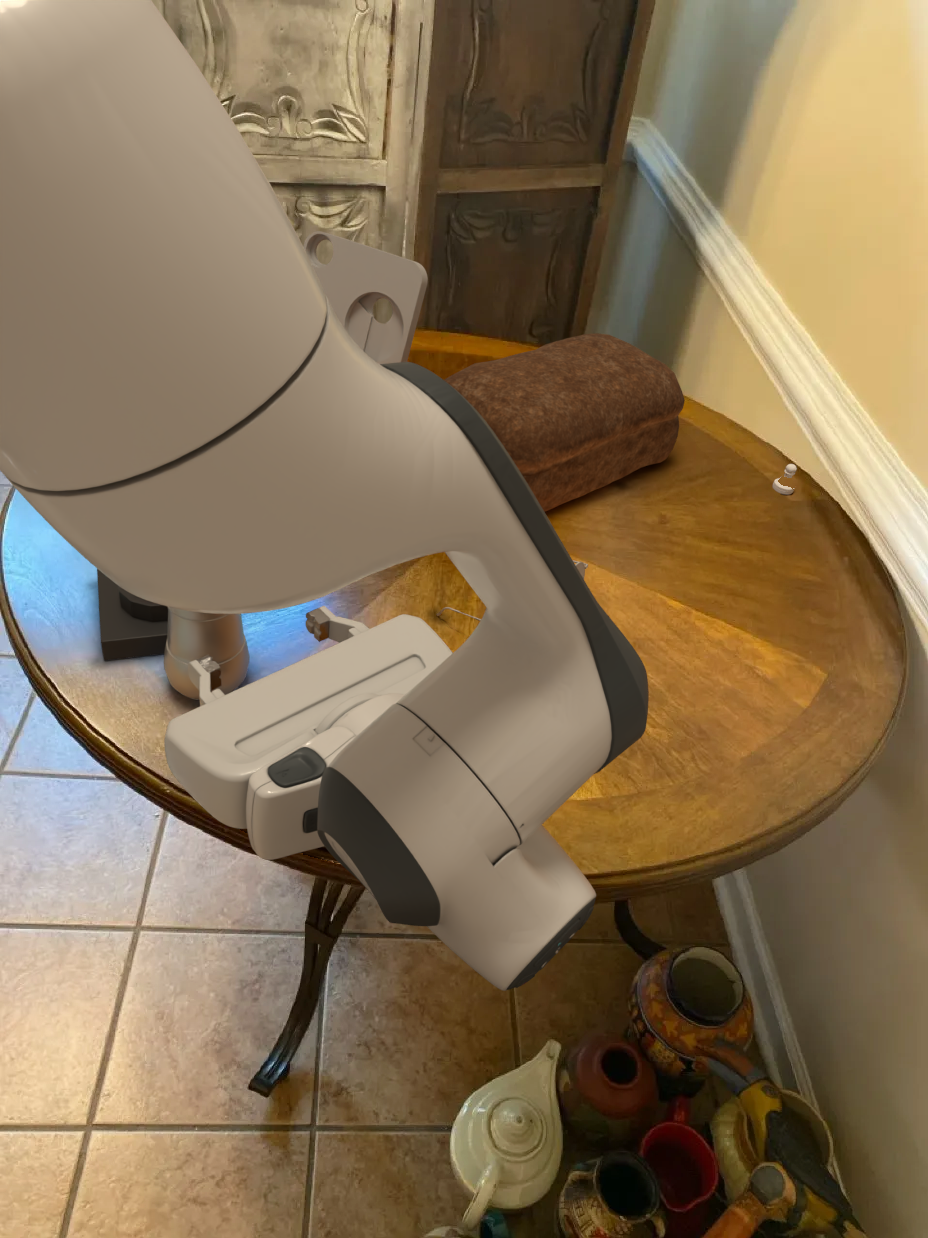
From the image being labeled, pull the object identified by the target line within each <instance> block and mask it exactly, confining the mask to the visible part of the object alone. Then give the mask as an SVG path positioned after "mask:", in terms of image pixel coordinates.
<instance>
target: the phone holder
mask: <svg viewBox="0 0 928 1238" xmlns="http://www.w3.org/2000/svg"><path fill="white" fill-rule="evenodd" d="M326 240H327V241H329V242H330V243H331V245H332V255H331V259H330V261H329V262H328V263H327V264H326V263H322V262H321V261H320V259H318V256H317V248H318V246H319V244H320V243H321V242H323V241H326ZM303 247H304V249H305V251H306V254H307V256H308V258H309V260H310V262H311V264H312V266H313V268H314V270H315V272H316V274H317V277H318V279H319V281H320V283H321V285H322V287H323V289H324V292H325V295H326V296H327V298H328V300H329V302H330V304H331V306H332V308H333V310H334V312H335V314H336V316H337V318H338V319H339V321H340V323H341V324H342V326H343V327H344V329H345V330H346V332H347V333H348V334H349V336H350V337H351V338H352V339H353V340H354V342H355V343H356V344H357V345H358V346H359V347H360V348H361V349H362V350H363V351H364V352H365V353H366V354H367V355H368V356H369V357H370V358H372V359H373V360H374V361H375V362H377V363H378V364H388V363H399V362H408V359H409V357H410V356H409V355H410V353H411V349H412V344H413V340H414V336H415V333H416V332H415V331H416V329H417V325H418V322H419V317H420V314H421V309H422V306H423V302H424V298H425V294H426V291H427V288H428V283H429V281H428V280H429V279H428V274H427V270H426V268H425V267H424V266H423V265H422V264H421V263H419V262H418V261H414V260H412V259H408V258H406V257H403V256H399V255H397V254H394V253H391V252H387V251H385V250H382V249H379V248H375V247H372V246H369V245H366V244H364V243H360V242H357V241H354V240H351V239H348V238H345V237H341V236H338V235H336V234H333V233H329V232H325V231H321V230H317V231H312V232H311V233H309V235H307V237H306V239H304V243H303ZM382 299H385V300H387V301H388V302H389V303H390V306H391V308H392V314H391V317H390V318H389V320H388V321H386V322H385V323H382V322H379V321H378V320H377V319H376V318H375V316H374V306H375V304H376V303H377V302H378V301H379V300H382Z"/></svg>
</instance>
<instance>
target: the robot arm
mask: <svg viewBox="0 0 928 1238" xmlns="http://www.w3.org/2000/svg"><path fill="white" fill-rule="evenodd" d="M303 246H304V244H303V243H302V241H301V239H300V237H299V235H298V233H297V232H296V230H295V228H294V226H293V223H292V222H291V220H290V218H289V216H288V215H287V213H286V210H285V208H284V207H283V205H282V203H281V202H280V200H279V198H278V196H277V193H276V192H275V190H274V189H273V187H272V184H271V183H270V181H269V179H268V178H267V176H266V174H265V173H264V171H263V169H262V168H261V166H260V164H259V163H258V160H257V159H256V158H255V156H254V154H253V153H252V151H251V149H250V147H249V146H248V144H247V142H246V141H245V139H244V137H243V135H242V134H241V131H240V130H239V129H238V127H237V125H236V124H235V122H234V121H233V119H232V117H231V115H230V114H229V113H228V111H227V110H226V108H225V107H224V105H223V103H222V102H221V101H220V99H219V98H218V96H217V94H216V92H215V91H214V90H213V88H212V86H211V85H210V83H209V82H208V80H207V79H206V77H205V75H204V74H203V73H202V71H201V69H200V67H198V65H197V63H196V62H195V60H194V59H193V58H192V56H191V55H190V53H189V52H188V50H187V49H186V48H185V45H183V43H182V42H181V40H180V39H179V38H178V36H177V34H176V33H175V32H174V30H173V29H172V28H171V26H170V25H169V23H168V22H167V20H166V19H165V18H164V16H163V14H162V13H161V12H160V10H159V9H158V7H157V6H156V5H155V3H154V2H153V0H0V472H1V474H2V475H4V477H5V478H6V479H7V480H8V482H9V483H11V485H12V486H13V487H14V488H15V490H16V491H17V492H18V493H19V494H20V495H21V496H22V497H23V498H24V499H25V501H26V502H27V503H29V505H30V506H31V507H32V508H33V509H34V510H35V511H36V512H37V513H38V514H39V515H40V517H42V518H43V519H44V520H45V521H46V523H47V524H48V525H49V526H50V527H52V529H54V531H55V532H56V533H58V534H59V535H60V537H61V538H63V540H64V541H66V542H67V543H68V544H69V545H70V546H71V547H72V548H73V549H74V550H76V551H77V552H78V553H79V554H80V555H81V556H82V557H83V558H84V559H85V560H87V561H88V562H89V563H90V564H91V565H92V566H93V567H95V568H96V570H97V569H98V570H100V571H101V572H102V573H103V574H104V575H106V576H107V577H108V578H109V579H111V580H112V581H113V582H114V583H116V584H117V585H118V586H120V587H121V588H123V589H124V590H126V591H128V592H129V593H131V594H133V595H135V596H137V597H140V598H142V599H145V600H148V601H151V602H153V603H157V604H161V605H164V606H168V607H171V608H175V609H180V610H186V611H193V612H202V613H213V614H241V615H244V614H254V613H262V612H271V611H277V610H282V609H287V608H291V607H296V606H300V605H303V604H307V603H310V602H313V601H316V600H318V599H321V598H323V597H326V596H328V595H330V594H332V593H335V592H337V591H339V590H341V589H343V588H345V587H347V586H350V585H352V584H354V583H356V582H358V581H360V580H362V579H365V578H367V577H369V576H372V575H374V574H376V573H379V572H381V571H384V570H386V569H389V568H392V567H394V566H397V565H400V564H404V563H406V562H409V561H412V560H415V559H419V558H423V557H426V556H430V555H435V554H439V553H444V554H445V555H446V556H447V558H448V559H449V560H450V561H451V563H452V564H453V565H454V566H455V568H456V569H457V570H458V572H459V573H460V575H461V576H462V577H463V578H464V580H465V581H466V583H467V584H468V585H469V587H471V589H472V590H473V591H474V593H475V594H476V596H477V597H478V598H479V600H480V601H481V602H482V604H483V605H484V606H485V607H486V608H485V610H484V613H483V615H482V618H480V619H481V621H479V622H478V624H477V626H476V627H475V628H474V629H473V631H472V633H471V634H470V635H469V636H468V638H466V639H465V641H464V642H463V643H462V644H461V645H460V646H459V647H458V648H457V649H456V650H454V651H452V650H451V649H450V647H449V646H448V645H447V644H446V643H445V642H444V640H443V639H442V638H441V637H440V635H439V634H437V632H436V631H435V630H434V629H433V628H432V627H431V626H430V625H429V624H428V623H427V622H426V621H425V620H424V619H422V617H419V616H415V615H411V614H407V613H402V614H399V615H397V616H395V617H392V618H391V619H388V620H386V621H384V622H382V623H380V624H378V625H375V626H373V627H371V628H369V627H368V626H367V625H366V623H364V622H361V621H358V620H355V619H354V620H353V619H350V618H346V617H343V616H339V615H338V616H337V615H335V614H334V613H333V612H332V611H331V610H330V609H329V608H328V607H326V606H325V605H322V606H320V607H317V608H314V609H313V610H310V611H308V612H306V614H305V619H306V620H305V628H306V630H307V632H308V633H309V634H311V635H313V638H314V639H315V640H316V641H318V642H319V643H320V642H322V641H325V640H327V639H329V640H332V641H334V642H337V643H336V644H334V645H332V646H329V647H327V648H325V649H322V650H321V651H318V652H316V653H314V654H312V655H310V656H307V657H305V658H303V659H301V660H299V661H297V662H294V663H292V664H290V665H288V666H286V667H283V668H281V669H279V670H276V671H274V672H272V673H271V674H268V675H266V676H264V677H261V678H259V679H257V680H255V681H253V682H251V683H248V684H246V685H244V686H242V687H240V688H239V687H238V688H236V689H235V690H234V691H233V692H231V693H228V694H226V695H225V694H224V693H223V692H222V691H221V690H220V689H216V688H218V687H220V686H221V678H220V675H221V667H220V666H219V665H218V664H217V663H216V662H215V661H212V657H211V656H210V655H207V656H204V657H201V658H199V659H196V660H194V661H192V662H189V663H188V672H189V677H190V680H191V682H192V683H193V684H194V685H195V686H196V688H197V689H198V690H199V697H200V700H199V706H198V707H196V708H194V709H191V710H189V711H187V712H185V713H182V714H179V715H178V716H176V717H174V718H172V719H170V720H169V721H168V723H167V726H166V729H165V734H164V739H163V742H164V754H165V759H166V763H167V767H168V769H169V771H170V773H171V774H172V775H173V776H174V778H175V779H176V780H177V782H178V783H179V784H180V786H182V788H183V789H185V791H186V792H187V793H188V794H189V795H190V796H191V797H192V798H193V799H194V800H195V802H197V804H198V805H200V806H201V807H202V808H203V810H205V811H206V812H207V813H208V814H209V815H211V816H212V818H214V819H215V820H217V821H218V822H220V823H222V824H223V825H225V826H227V827H230V828H233V829H241V830H242V829H243V830H246V829H247V835H248V839H249V844H250V847H251V849H252V850H253V851H254V852H255V854H256V855H257V856H258V857H259V858H260V859H262V860H265V861H273V860H277V859H281V858H285V857H289V856H293V855H295V854H300V853H303V852H307V851H312V850H316V849H318V848H319V849H320V848H325V849H326V850H327V851H328V852H329V855H331V856H332V857H333V859H334V860H336V861H337V862H338V863H339V864H340V865H341V866H342V867H343V868H344V869H345V870H346V871H348V872H349V873H350V874H351V875H352V876H353V877H354V878H355V879H356V880H358V882H360V884H361V885H362V886H363V887H364V888H365V889H366V890H367V891H368V893H369V894H370V895H371V896H372V898H373V899H375V901H376V903H377V904H378V907H379V908H380V911H381V913H382V915H383V916H384V918H385V919H386V920H387V922H389V923H390V924H397V925H405V926H415V927H427V928H428V929H429V931H431V932H432V934H434V935H435V937H437V938H438V940H440V941H441V942H442V943H443V944H444V945H445V946H446V947H447V948H448V949H449V950H451V951H452V952H453V953H454V954H455V956H457V957H458V958H459V959H460V960H462V961H463V962H464V963H465V964H467V965H468V966H469V968H471V969H472V970H474V971H475V972H476V973H477V974H478V975H480V976H481V977H482V978H483V979H484V980H486V981H487V982H488V983H490V984H491V985H492V986H494V987H495V988H497V989H498V990H500V991H502V992H503V991H504V992H505V991H509V990H512V989H516V988H517V989H518V988H520V987H522V986H523V985H525V984H527V983H529V981H531V980H532V979H533V978H535V976H536V974H537V973H539V972H540V971H541V970H543V969H544V967H546V965H547V964H548V963H549V962H550V961H551V960H552V959H553V958H554V957H555V956H556V955H557V954H558V953H559V952H560V951H561V950H563V948H564V947H565V946H566V944H568V943H569V942H570V941H571V940H572V938H573V937H574V936H575V934H577V932H578V931H579V930H581V929H582V928H583V926H584V925H586V923H587V921H588V920H589V918H590V917H591V915H592V913H593V911H594V908H595V907H594V906H595V903H596V898H597V893H596V890H595V889H594V887H593V886H592V884H591V882H590V881H589V880H588V879H587V877H586V875H585V874H584V873H583V872H582V871H581V869H580V868H579V867H578V865H577V864H576V863H575V861H574V860H573V859H572V858H571V857H570V855H569V854H568V853H567V852H566V851H565V850H564V847H562V846H561V845H560V843H559V842H558V841H557V840H556V839H555V837H554V836H553V835H552V834H551V833H550V832H549V831H548V830H547V829H546V828H545V826H544V825H543V824H544V823H546V822H547V820H548V819H549V818H551V817H552V815H554V813H556V812H557V811H558V810H559V809H560V807H562V806H563V805H564V803H566V802H567V801H568V800H569V799H570V798H571V797H572V796H573V795H574V794H575V793H577V791H578V790H580V788H581V787H583V785H585V783H587V782H588V781H589V780H590V779H591V777H592V776H593V775H595V774H598V773H600V772H601V771H602V770H603V769H605V768H606V767H607V766H608V765H609V764H611V762H613V761H614V760H615V759H617V758H618V757H619V756H620V755H622V754H623V753H624V752H626V751H627V750H628V749H629V748H630V747H631V746H632V745H634V744H635V743H637V742H638V740H640V739H641V738H642V736H643V735H644V734H645V732H646V728H647V723H648V715H649V699H650V697H649V692H650V691H649V681H648V680H649V678H648V672H647V669H646V665H645V664H644V662H643V660H642V658H641V657H640V655H639V653H638V652H637V650H636V649H635V647H633V644H632V643H631V642H630V641H629V639H628V638H627V636H625V634H624V632H622V630H620V628H619V627H618V626H617V625H616V623H615V622H614V621H613V620H612V618H611V617H610V616H609V615H608V613H607V612H606V611H605V610H604V609H603V607H602V606H601V605H600V603H599V602H598V601H597V599H596V597H595V596H594V594H593V593H592V591H591V589H590V588H589V586H588V584H587V582H586V581H585V578H584V579H583V577H582V575H581V574H580V572H579V570H578V569H577V567H576V565H575V564H576V563H574V562H573V560H574V559H572V557H571V555H570V553H569V551H568V550H567V549H566V546H565V545H564V543H563V541H562V539H561V538H560V536H559V534H558V533H557V531H556V529H555V528H554V526H553V524H552V522H551V520H550V519H549V517H548V515H547V514H546V511H545V512H544V510H543V509H542V507H541V505H540V504H539V502H538V500H537V499H536V497H535V495H534V494H533V492H532V490H531V489H530V487H529V485H528V484H527V482H526V480H525V479H524V477H523V476H522V474H521V472H520V471H519V469H518V468H517V466H516V464H515V463H514V461H513V460H512V458H511V457H510V455H509V454H508V452H507V451H506V449H505V448H504V446H503V445H502V443H501V442H500V440H499V439H498V437H497V436H496V434H495V433H494V432H493V430H492V429H491V428H490V426H489V425H488V424H487V422H486V421H485V420H484V418H483V417H482V416H481V415H480V414H479V413H478V411H477V410H476V409H475V408H474V407H473V406H472V405H471V404H470V403H469V402H468V401H467V400H466V399H465V398H464V397H463V396H462V395H461V394H460V393H459V392H458V391H457V390H456V389H454V388H453V387H452V386H451V385H449V384H448V383H447V382H445V381H444V380H445V379H443V378H442V377H440V376H439V375H437V374H436V373H434V372H433V371H431V370H430V369H428V368H426V367H424V366H421V365H419V364H418V363H414V362H410V361H407V362H399V363H388V364H378V363H377V362H375V361H374V360H373V359H372V358H370V357H369V356H368V355H367V354H366V353H365V352H364V351H363V350H362V349H361V348H360V347H359V346H358V345H357V344H356V343H355V342H354V340H353V339H352V338H351V337H350V336H349V334H348V333H347V332H346V330H345V329H344V327H343V326H342V324H341V323H340V321H339V319H338V318H337V315H336V314H335V312H334V310H333V308H332V306H331V304H330V302H329V300H328V298H327V296H326V295H325V292H324V289H323V287H322V285H321V283H320V281H319V279H318V277H317V274H316V272H315V270H314V268H313V266H312V264H311V262H310V260H309V258H308V256H307V254H306V251H305V249H304V247H303ZM214 689H216V690H214ZM212 690H213V691H212ZM211 691H212V693H211Z"/></svg>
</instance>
